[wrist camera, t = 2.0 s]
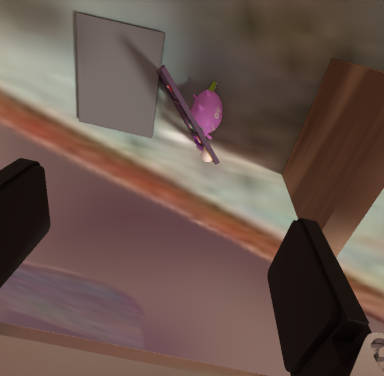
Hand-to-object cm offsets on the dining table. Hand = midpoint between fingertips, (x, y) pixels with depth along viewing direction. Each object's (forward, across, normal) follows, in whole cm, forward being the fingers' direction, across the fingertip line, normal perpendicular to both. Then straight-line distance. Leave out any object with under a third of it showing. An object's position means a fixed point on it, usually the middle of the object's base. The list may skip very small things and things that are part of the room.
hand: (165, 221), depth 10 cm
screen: (+19, -12, 0) cm, 22 cm away
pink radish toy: (+20, 0, 0) cm, 20 cm away
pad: (+20, +8, 0) cm, 21 cm away
